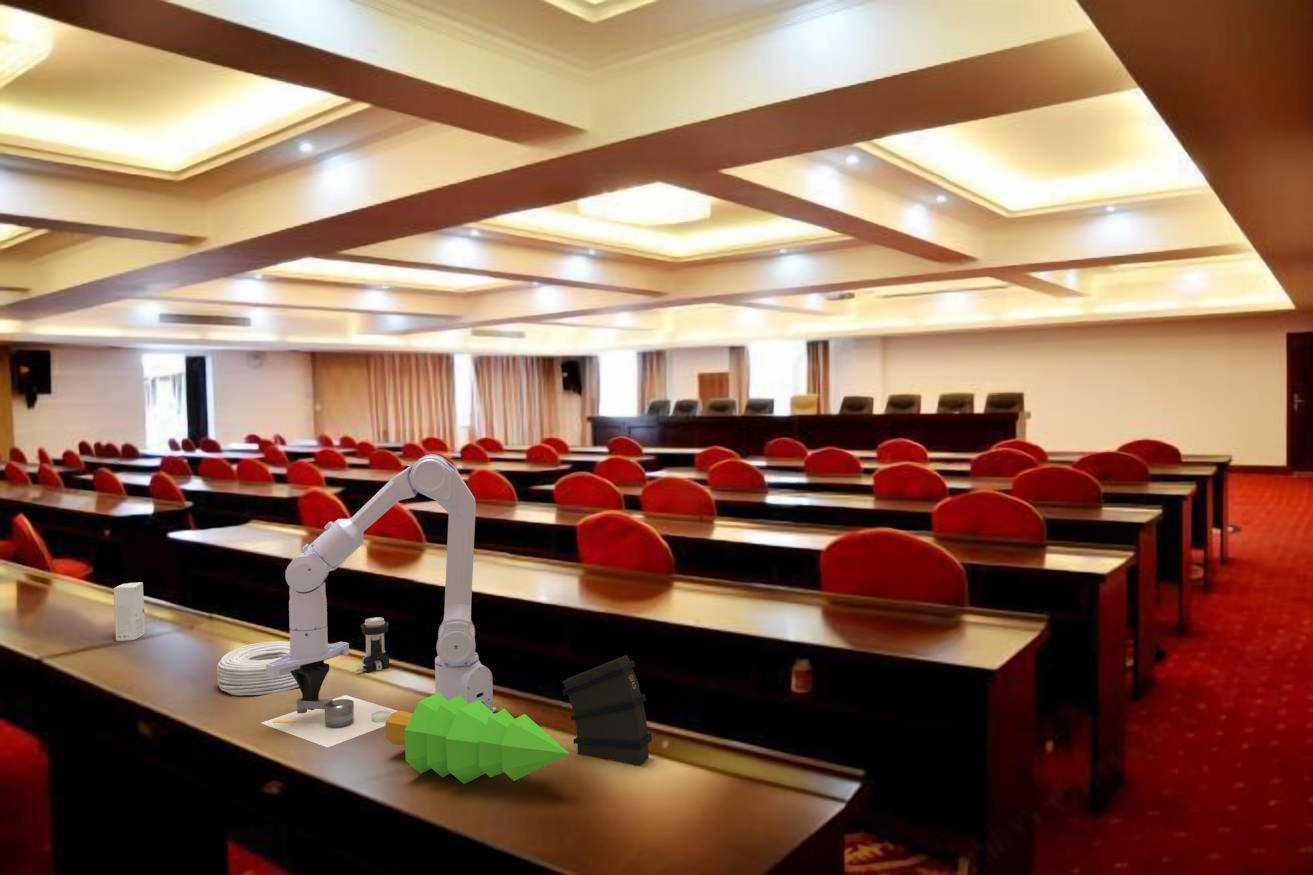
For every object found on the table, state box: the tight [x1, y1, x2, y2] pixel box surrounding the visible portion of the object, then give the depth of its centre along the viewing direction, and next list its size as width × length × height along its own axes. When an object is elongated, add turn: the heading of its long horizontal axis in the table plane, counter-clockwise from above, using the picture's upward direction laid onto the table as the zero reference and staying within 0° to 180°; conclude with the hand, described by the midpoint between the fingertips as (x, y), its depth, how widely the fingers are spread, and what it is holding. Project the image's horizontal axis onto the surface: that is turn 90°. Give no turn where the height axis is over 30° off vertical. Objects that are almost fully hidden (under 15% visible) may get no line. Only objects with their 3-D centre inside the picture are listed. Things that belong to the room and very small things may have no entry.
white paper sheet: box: [260, 694, 398, 748], centre depth 139 cm, size 18×16×2 cm
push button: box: [355, 616, 390, 673], centre depth 169 cm, size 7×5×10 cm
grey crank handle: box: [296, 697, 354, 727], centre depth 138 cm, size 10×4×3 cm, turn 81°
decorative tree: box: [385, 693, 570, 785], centre depth 119 cm, size 11×12×30 cm
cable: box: [216, 640, 300, 696], centre depth 162 cm, size 18×18×6 cm
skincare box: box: [113, 582, 146, 642], centre depth 194 cm, size 6×4×12 cm
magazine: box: [561, 654, 653, 766], centre depth 127 cm, size 4×13×15 cm, turn 64°
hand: (310, 708), depth 140 cm, fingers closed
